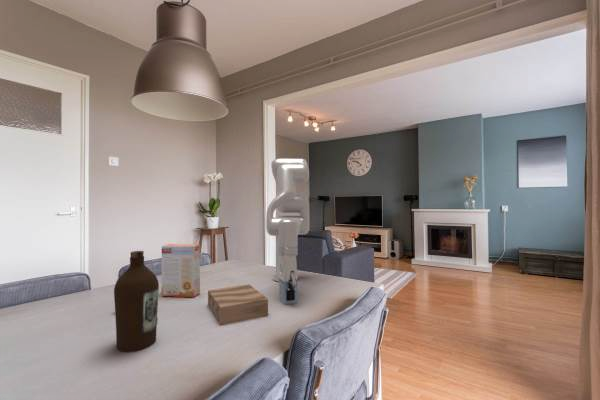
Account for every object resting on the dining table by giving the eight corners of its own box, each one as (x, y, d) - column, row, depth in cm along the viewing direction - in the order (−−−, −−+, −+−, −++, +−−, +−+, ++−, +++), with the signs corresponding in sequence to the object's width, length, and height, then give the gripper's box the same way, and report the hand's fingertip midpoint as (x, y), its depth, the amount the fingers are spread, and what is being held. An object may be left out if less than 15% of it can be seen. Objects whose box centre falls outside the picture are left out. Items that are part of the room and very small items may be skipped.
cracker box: (200, 293, 122) (200, 243, 122) (193, 298, 116) (194, 245, 116) (169, 292, 123) (169, 243, 123) (160, 297, 117) (161, 245, 117)
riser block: (208, 306, 108) (208, 290, 108) (249, 299, 116) (249, 284, 116) (220, 326, 90) (220, 307, 90) (268, 316, 98) (268, 298, 98)
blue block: (279, 299, 114) (279, 279, 114) (292, 298, 116) (292, 278, 116) (283, 304, 108) (283, 283, 108) (297, 302, 110) (297, 281, 110)
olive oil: (104, 353, 74) (104, 255, 74) (130, 334, 84) (130, 248, 84) (144, 353, 73) (145, 255, 73) (165, 334, 84) (165, 248, 84)
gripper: (272, 248, 119) (272, 292, 119) (285, 255, 103) (285, 306, 103) (289, 247, 121) (290, 290, 121) (305, 254, 105) (305, 303, 105)
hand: (288, 297), depth 112 cm, fingers closed on blue block, 5 cm apart
